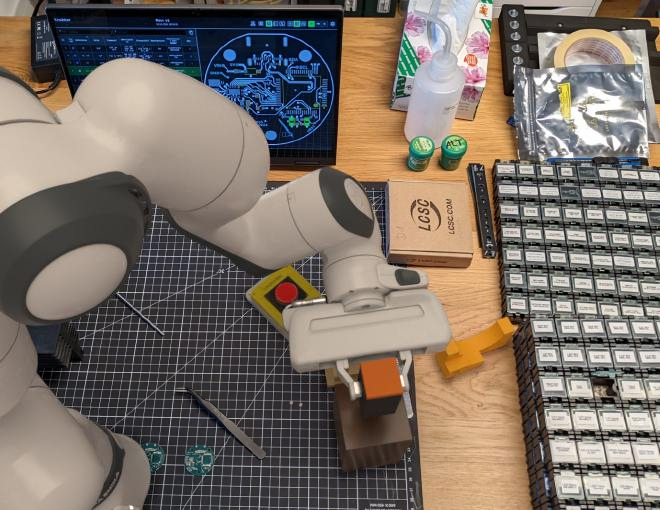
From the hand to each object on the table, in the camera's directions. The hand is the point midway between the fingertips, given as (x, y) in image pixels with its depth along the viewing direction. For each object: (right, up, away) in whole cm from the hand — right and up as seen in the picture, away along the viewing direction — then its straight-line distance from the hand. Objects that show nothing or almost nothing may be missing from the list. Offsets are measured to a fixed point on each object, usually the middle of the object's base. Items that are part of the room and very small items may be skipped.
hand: (380, 394), depth 74 cm
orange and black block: (0, -2, +5) cm, 5 cm away
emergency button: (-13, +7, +35) cm, 38 cm away
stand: (0, -12, +24) cm, 27 cm away
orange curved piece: (+18, 0, +31) cm, 36 cm away
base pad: (-3, -1, +30) cm, 30 cm away
